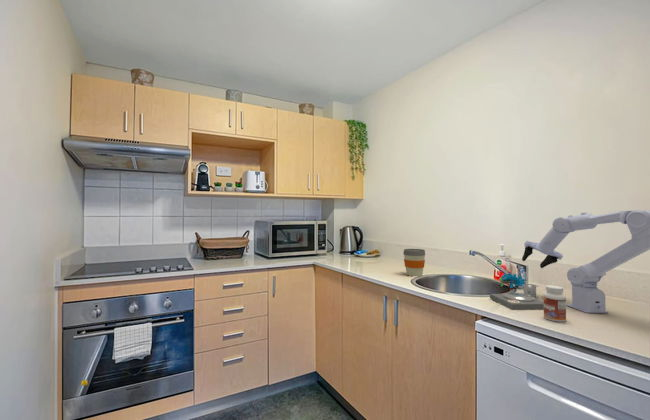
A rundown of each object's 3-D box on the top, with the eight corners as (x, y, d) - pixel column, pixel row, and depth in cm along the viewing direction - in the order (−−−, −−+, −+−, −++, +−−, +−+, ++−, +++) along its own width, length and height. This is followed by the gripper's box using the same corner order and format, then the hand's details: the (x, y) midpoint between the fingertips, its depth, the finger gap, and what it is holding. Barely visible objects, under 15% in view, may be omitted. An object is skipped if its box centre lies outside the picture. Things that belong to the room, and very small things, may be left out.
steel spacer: (539, 298, 129) (538, 286, 129) (528, 298, 129) (528, 286, 129) (531, 295, 133) (531, 284, 133) (521, 295, 133) (521, 284, 133)
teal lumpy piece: (528, 284, 146) (520, 271, 143) (527, 295, 143) (518, 282, 139) (504, 283, 155) (496, 271, 151) (502, 293, 152) (493, 281, 148)
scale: (549, 309, 113) (548, 302, 113) (512, 309, 113) (512, 302, 113) (522, 298, 128) (522, 292, 128) (490, 298, 128) (489, 292, 128)
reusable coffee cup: (411, 272, 187) (411, 248, 188) (429, 275, 178) (429, 250, 178) (399, 274, 179) (399, 249, 180) (417, 278, 170) (417, 251, 170)
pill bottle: (539, 316, 106) (538, 284, 106) (555, 315, 106) (554, 284, 106) (554, 322, 99) (553, 289, 100) (571, 322, 100) (570, 288, 100)
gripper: (567, 242, 128) (547, 264, 136) (531, 229, 131) (514, 251, 139) (571, 252, 122) (550, 274, 130) (533, 238, 125) (515, 260, 133)
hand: (531, 263), depth 134 cm, fingers open, 7 cm apart
